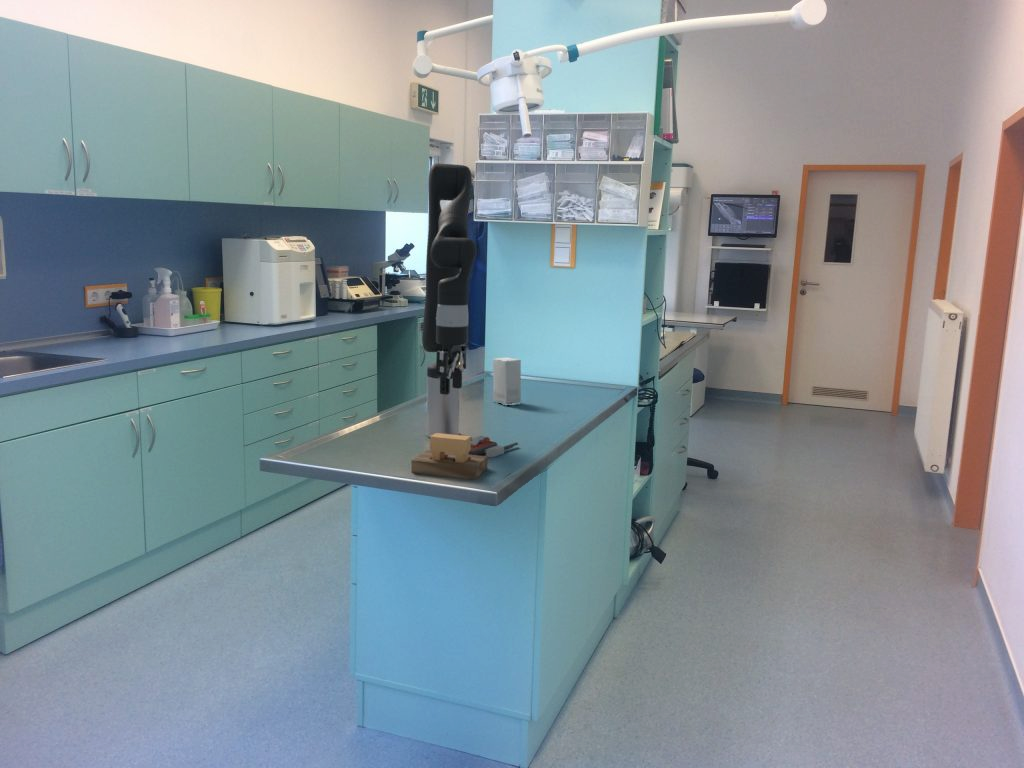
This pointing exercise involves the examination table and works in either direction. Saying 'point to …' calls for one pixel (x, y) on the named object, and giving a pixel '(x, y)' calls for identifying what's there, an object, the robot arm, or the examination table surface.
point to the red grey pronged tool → (487, 447)
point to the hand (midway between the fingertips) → (451, 391)
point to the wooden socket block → (450, 465)
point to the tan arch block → (450, 446)
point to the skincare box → (507, 380)
